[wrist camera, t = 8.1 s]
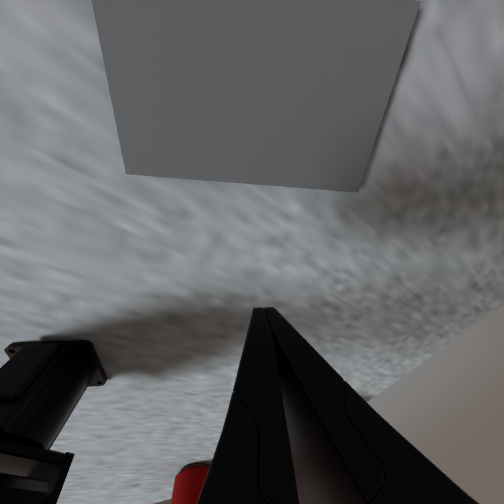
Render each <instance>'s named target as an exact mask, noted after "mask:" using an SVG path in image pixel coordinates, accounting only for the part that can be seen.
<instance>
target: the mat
mask: <svg viewBox="0 0 504 504" xmlns="http://www.w3.org/2000/svg"><path fill="white" fill-rule="evenodd" d="M420 3H421V2H420V1H416V0H92V4H93V9H94V14H95V19H96V24H97V29H98V34H99V39H100V44H101V50H102V55H103V60H104V65H105V70H106V75H107V80H108V85H109V90H110V95H111V100H112V105H113V110H114V115H115V120H116V125H117V130H118V135H119V141H120V146H121V151H122V156H123V161H124V166H125V171H126V174H131V175H144V176H157V177H170V178H183V179H195V180H208V181H221V182H234V183H247V184H260V185H272V186H285V187H298V188H311V189H324V190H336V191H349V192H358V191H359V188H360V185H361V182H362V179H363V176H364V173H365V170H366V167H367V164H368V161H369V158H370V155H371V152H372V149H373V146H374V143H375V140H376V137H377V133H378V130H379V127H380V124H381V121H382V118H383V115H384V112H385V109H386V106H387V103H388V100H389V97H390V94H391V91H392V88H393V85H394V82H395V79H396V76H397V73H398V70H399V67H400V64H401V61H402V57H403V54H404V51H405V48H406V45H407V42H408V39H409V36H410V33H411V30H412V27H413V24H414V21H415V18H416V15H417V12H418V9H419V6H420Z"/></svg>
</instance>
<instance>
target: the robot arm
mask: <svg viewBox="0 0 504 504" xmlns="http://www.w3.org/2000/svg"><path fill="white" fill-rule="evenodd" d="M4 351H5V352H6V354H7V355H8V356H9V358H10V360H9V361H8V362H7V363H5V364H4V365H3V366H2V367H1V368H0V504H56V503H57V500H58V498H59V495H60V492H61V490H62V487H63V484H64V482H65V479H66V476H67V473H68V471H69V468H70V465H71V463H72V460H73V457H74V453H69V452H67V453H61V452H57V451H53V450H50V448H51V446H52V445H53V443H54V441H55V440H56V438H57V436H58V435H59V433H60V431H61V430H62V428H63V426H64V425H65V423H66V421H67V420H68V418H69V417H70V415H71V413H72V412H73V410H74V408H75V407H76V405H77V403H78V402H79V400H80V398H81V397H82V395H83V393H84V392H85V390H86V388H87V387H90V386H102V385H104V384H105V383H106V381H107V377H106V375H105V373H104V370H103V368H102V366H101V364H100V361H99V359H98V357H97V354H96V352H95V350H94V348H93V345H92V343H91V342H89V341H86V340H81V341H57V342H33V343H13V344H10V345H9V346H8V347H6V348H5V350H4ZM197 504H479V503H478V502H476V501H475V500H474V499H473V498H472V497H470V496H469V495H468V494H467V493H466V492H464V491H463V490H462V489H461V488H460V487H459V486H457V485H456V484H455V483H454V482H453V481H452V480H451V479H449V477H447V476H446V475H445V474H444V473H443V472H442V471H441V470H440V469H439V468H437V467H436V466H435V465H434V464H433V463H432V462H431V461H430V460H429V459H427V458H426V457H425V456H424V455H423V454H422V453H421V452H420V451H419V450H417V449H416V448H415V447H414V446H413V445H412V444H411V443H409V441H407V440H406V439H405V438H404V437H403V436H402V435H401V434H400V433H399V432H397V431H396V430H395V429H394V428H393V427H392V426H391V425H390V424H389V423H388V422H387V421H386V420H384V419H383V418H382V417H381V416H380V415H379V414H378V413H377V412H376V411H375V410H374V409H373V408H372V407H371V406H370V405H369V404H368V403H367V402H366V401H365V400H364V399H363V398H362V397H361V396H360V395H359V394H358V393H357V392H356V391H355V390H354V389H353V388H352V387H351V386H350V385H349V384H348V383H347V382H346V381H344V380H343V378H342V377H341V376H340V375H339V374H338V373H337V372H336V371H335V370H334V369H333V368H332V367H331V366H330V365H329V364H328V363H327V362H326V361H325V360H324V358H323V357H322V356H321V355H320V354H319V353H318V352H317V351H316V350H315V349H314V348H313V347H312V346H311V345H310V344H309V343H308V342H307V341H306V340H305V339H304V338H303V337H302V336H301V335H300V334H299V333H298V332H297V331H296V330H295V329H294V328H293V326H292V325H291V324H290V323H289V322H288V321H287V320H286V319H285V318H284V317H283V316H282V315H281V314H280V313H279V312H278V311H277V310H276V309H275V308H274V307H265V308H262V307H260V308H254V309H253V312H252V316H251V320H250V324H249V328H248V332H247V336H246V340H245V344H244V348H243V352H242V356H241V360H240V364H239V368H238V373H237V377H236V381H235V385H234V389H233V393H232V396H231V400H230V404H229V408H228V412H227V415H226V419H225V423H224V426H223V430H222V433H221V436H220V439H219V442H218V445H217V448H216V451H215V454H214V457H213V460H212V462H211V465H210V468H209V471H208V473H207V476H206V479H205V482H204V484H203V487H202V490H201V493H200V495H199V498H198V501H197Z"/></svg>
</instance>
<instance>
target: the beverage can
mask: <svg viewBox="0 0 504 504" xmlns="http://www.w3.org/2000/svg"><path fill="white" fill-rule="evenodd" d="M208 471H209V466H208V465H205V464H193V465H189V466H186V467H184V468H183V469H182V470H181V471H180V472H179V473H178V474H177V475H176V477H175V482H174V488H173V494H172V500H171V504H197V501H198V498H199V495H200V493H201V490H202V487H203V484H204V482H205V479H206V476H207V473H208Z"/></svg>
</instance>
